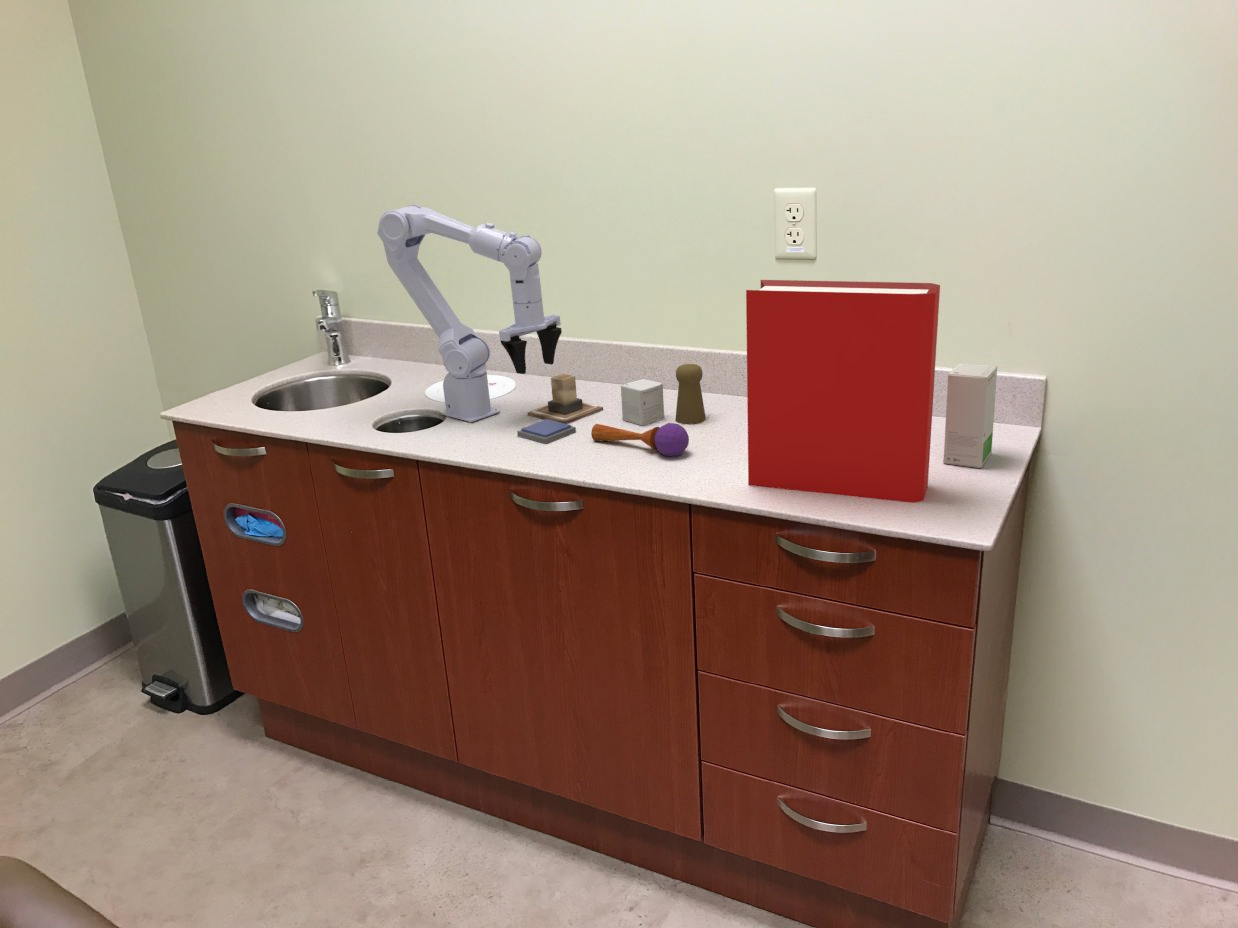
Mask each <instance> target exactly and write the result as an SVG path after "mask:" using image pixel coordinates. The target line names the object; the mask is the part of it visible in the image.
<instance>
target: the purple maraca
mask: <svg viewBox="0 0 1238 928" xmlns="http://www.w3.org/2000/svg"><path fill="white" fill-rule="evenodd" d="M590 435H591V439H592V440H593V441H594V442H615V441H617V442H618V441H642V442H643V443H644V444H646V445H647V446H648V447H650V448H651V449H652V450H655V451H657V450H658V452H660V453H661V454H662V455H664V456H666V457H672V458H673V457H677V456H680V455H681V454H683V453H684V452H686V450H687V448H688V446H689V443H690V439H689V438H690V437H689V434H688V432H687V430H686V429H685V427H684V426H683V425H682V424H680V423H674V422H667V423H665V424H663V425H661V426H655V427H653V428H650V429H648V430H647V431H644V432H642V433H639V432H635V431H630V430H626V429H622V428H617V427H614V426H609V425H605V424H600V423H595V424H594V425H593V426H592V428H591V433H590Z"/></svg>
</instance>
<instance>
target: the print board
mask: <svg viewBox="0 0 1238 928" xmlns="http://www.w3.org/2000/svg"><path fill="white" fill-rule="evenodd" d="M582 404H583V409H580V410H578V411H575V412H573V413H570V414H567V415H563V414H559V413H555V412H550V411H548V404H547V405H544V406H542V407H539V408H536V409H534V410H530V411H528V412H527V413H526V414H527V416H530V417H533V418H538V419H541V420H545V419H549V420H553V421H557V422H561V423H565V424H570V423H573V422H575V421H578V420H580V419H582V418H586V417H588V416H591V415H594V414H596V413H598V412H602V411H603V410H604V407H603V406H600V405H596V404H592V403H587V402H583V401H582Z"/></svg>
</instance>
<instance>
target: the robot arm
mask: <svg viewBox="0 0 1238 928" xmlns="http://www.w3.org/2000/svg"><path fill="white" fill-rule="evenodd" d="M376 233H377V236H378V237H379V238H380V240H381V241H382V244H383V249H384V253H385V256H386V260H387V261H386V262H387V264H388V265H389V267H390V269H391V270H392V272H393V273H394V275H395V277H396V278H397V279H398V281H399V282H400V283H401V284H402V286H403V288H404V289H405V291H406V292H407V294H408V295H409V297H410V298H411V299H412V301H413V302H414V304H415V305H416V306H417V308H418V309H419V311H420V312H421V314H422V316H423V317H424V318H425V320H426V321H427V323H428V324H429V325H430V327H431V329H432V330H433V332H434V333H435V335H436V336H437V337H438V344H437V345H438V346H437V350H438V352H439V354H440V355H441V357H442V361H443V366H444V368H445V370H446V371H447V374H446V375H445V377H444V378H443V381H442V387H443V388H442V389H443V396H444V405H445V406H444V407H445V411H444V412H442V415H443V416H446V417H449V418H452V419H453V418H454V419H458V420H462V421H465V422H469V423H474V422H476V421H480V420H482V419H484V418H488V417H491V416H493V415H496V414H499V413H500V412H501V409H497V408H493V407H491V398H490V397H491V396H490V389H489V388H490V387H489V380H488V372H487V365H486V364H487V362H488V361H489V359H490V356H491V350H490V346H489V344H488V343H487V341H486V340H485V339H483V338H482V337H481V336H479V335H478V334H476V332H475V331H474V329H473V328H471V327H470V326H467V325H466V324H463V323H462V322H461V321H460V319H459V318H458V316H457V315H456V313H455V312H454V310H453V308H452V307H451V306H450V304H449V303H448V301H447V300H446V299H445V296H444V295H443V293H442V292H441V291H440V290H439V288H438V286H437V285H436V283H435V282H434V281H433V279H432V278H431V276H430V274H429V273H428V272H427V270H426V269H425V268H424V266H423V264H422V263H421V261H420V260H419V259H418V255H419V250H420V246H421V244H422V241H424V239H425V236H426V235H428V234H434V235H438V236H441V237H445V238H448V239H451V240H454V241H457V242H462V243H465V244H468V245H469V247H470V249H471V251H472V252H473V253H474V254H477V255H480V256H483V257H485V258H487V259H491V260H493V261H496V262H500V263H502V264H503V265H504V266H505V267H506V268H507V270H508V272H509V280H510V281H509V282H510V289H511V290H510V291H511V297H512V308H513V314H514V324H512V325H510V326H508V327H505V328H503V329H500V330H498V333H499V341H500V345H502V347H503V348H504V349H505V351H506V352H507V354H508V356H509V358H510V360H511V362H512V365H513V366H514V370H515V373H516V374H519V375H525V374H526V373H527V372H526V371H527V364H526V347H527V343H528V341H527V340H524V339H522V338H520V337H522V336H526V335H529V334H532V333H536V334H537V338H538V340H539V344H540V346H541V355H542V360H543V363H544V364H546V365H553V364H554V362H555V355H556V350H557V345H558V342H559V339H560V336H561V335H562V333H563V332H562V331H563V330H562V328H561V327H559V326H561V325H562V323H561V316H560V315H556V314H552V315H548V316H545V314H544V306H543V297H542V296H543V295H542V286H541V285H542V284H541V276H540V269H539V263H538V262H539V261H540V260H541V257H542V247H541V244H540V243H539V241H538V240H537V239H535V238H533V237H531V236H530V235H529V234H526V235H521V236H519V237H518V236H517V234H518V233H517V232H515V231H511V232H507V231H503V230H501V229H498V228H496V227H495V224H494V223H491V222H487V223H484V224H483V223H481V224H479V225H477V226H475V227H474V226H471V225H469V224H466V223H465V222H462V221H459V220H457V219H454V218H452V217H450V216H447V215H446V214H445V215H444V214H442V213H439V212H438V211H435V210H433V209H432V208H430V207H423V206H420V205H417V204H409V205H407V206H405V207H401V208H397V209H389V210H386V211H385V212H384V213H382V215H381V216H380V218H379V222H378V228H377V232H376Z"/></svg>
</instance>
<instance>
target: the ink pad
mask: <svg viewBox="0 0 1238 928" xmlns="http://www.w3.org/2000/svg"><path fill="white" fill-rule="evenodd" d="M576 432H577V428H576V426H572V424H570V423H568V424H565V423H561V422H557V421H553V420H549V419H542V420H541V421H538V422H535V423H532V424H530V425H528V426H525V427H522V428H521V429H520V430H518V431H517V433H516V434H517V437H518V438H519V437H520V438H523V439H527V440H528V441H529V440H530V441H533V442H536V443H540V444H544V445H548V444H551V443H553V442H556V441H557V440H560V439H562V438H565V437H567V436H570V435H573V434H575V433H576Z"/></svg>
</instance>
